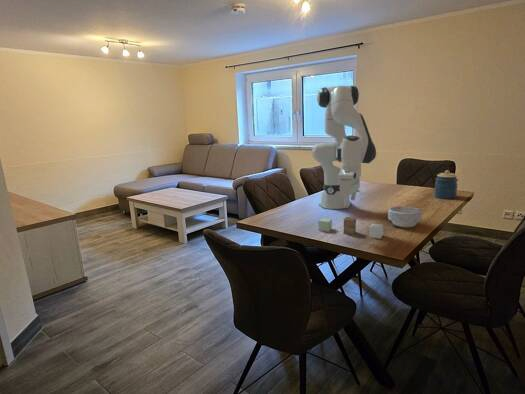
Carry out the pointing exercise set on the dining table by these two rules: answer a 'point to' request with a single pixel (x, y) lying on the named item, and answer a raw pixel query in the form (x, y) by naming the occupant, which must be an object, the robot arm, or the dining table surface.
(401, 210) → the paper bowls
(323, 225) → the sage cube
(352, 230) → the walnut block
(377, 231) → the grey cube
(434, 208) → the dining table surface
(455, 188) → the canister
